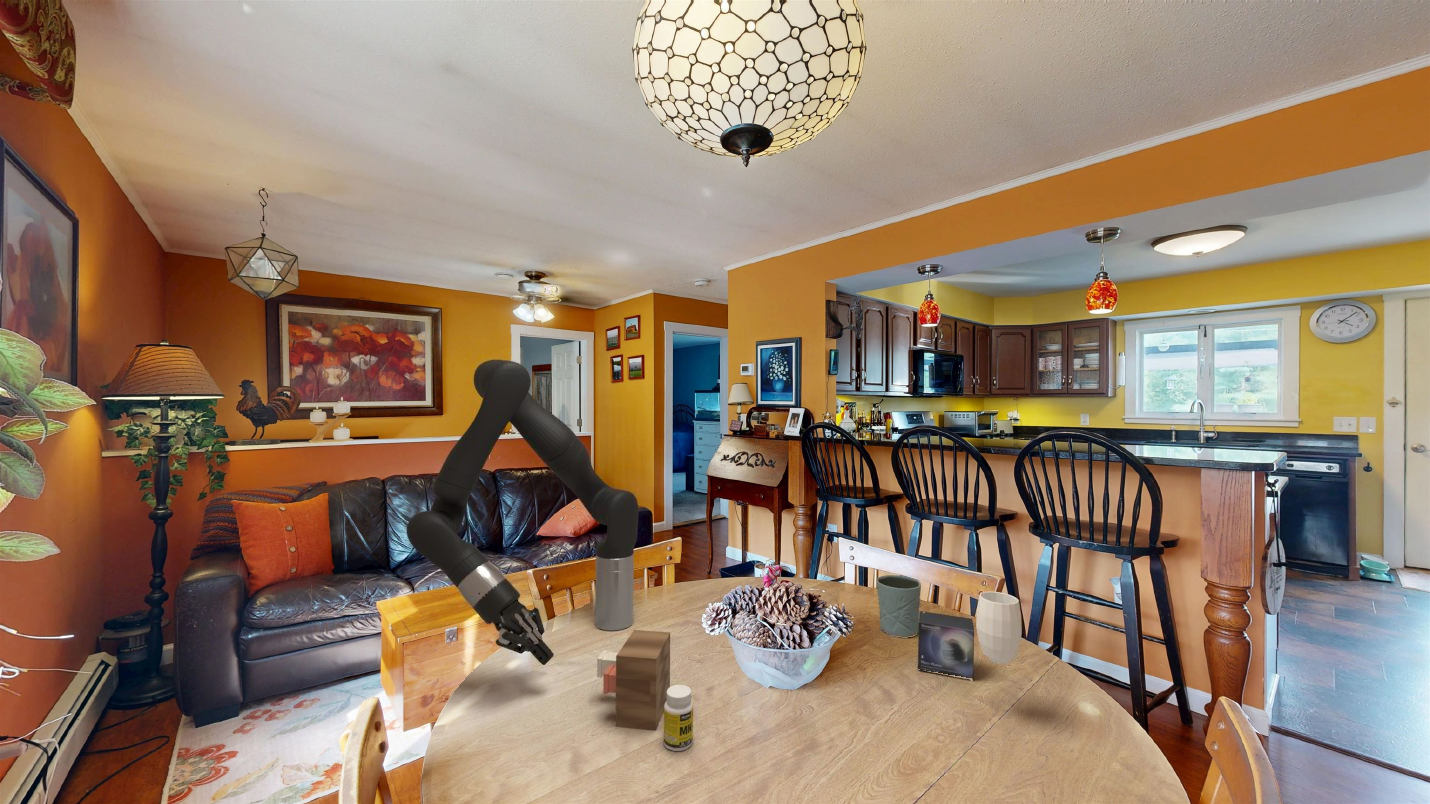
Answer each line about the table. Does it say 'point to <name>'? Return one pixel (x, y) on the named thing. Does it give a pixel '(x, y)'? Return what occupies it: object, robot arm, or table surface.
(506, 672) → the table surface
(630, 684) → the walnut box
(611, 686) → the red button
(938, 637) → the small box
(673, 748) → the supplement bottle
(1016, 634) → the cup
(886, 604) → the green embossed pot
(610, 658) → the white block
